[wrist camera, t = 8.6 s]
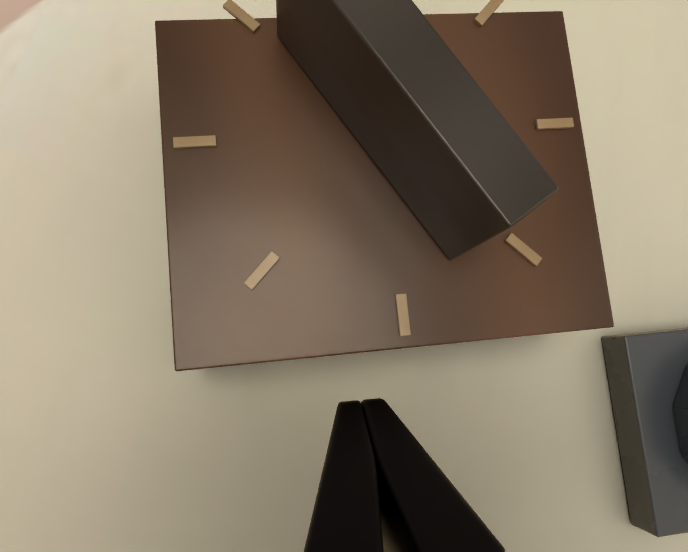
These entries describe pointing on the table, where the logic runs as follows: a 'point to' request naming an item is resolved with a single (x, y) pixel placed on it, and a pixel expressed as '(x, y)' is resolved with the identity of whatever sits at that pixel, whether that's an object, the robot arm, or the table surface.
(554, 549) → the table surface
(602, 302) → the dial console
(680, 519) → the button box
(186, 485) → the table surface
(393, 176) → the upright dark panel
